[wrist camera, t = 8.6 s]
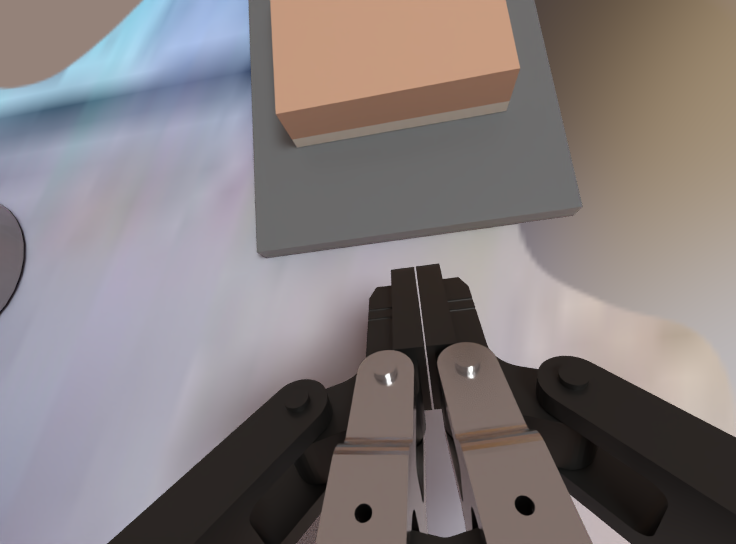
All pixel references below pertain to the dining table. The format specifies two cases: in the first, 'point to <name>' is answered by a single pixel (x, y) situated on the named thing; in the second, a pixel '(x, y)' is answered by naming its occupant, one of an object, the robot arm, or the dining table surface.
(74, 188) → the dining table surface
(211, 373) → the dining table surface
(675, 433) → the robot arm
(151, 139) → the dining table surface
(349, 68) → the tile
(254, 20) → the slate board
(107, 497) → the dining table surface
